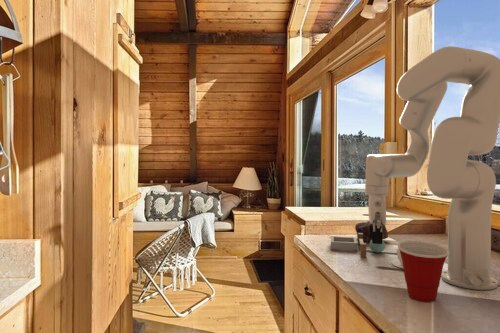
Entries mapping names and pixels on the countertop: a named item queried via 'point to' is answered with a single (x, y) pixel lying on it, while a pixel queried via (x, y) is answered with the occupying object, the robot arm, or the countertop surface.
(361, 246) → the rail
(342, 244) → the dish
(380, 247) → the ball
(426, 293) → the plastic cup
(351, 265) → the countertop surface
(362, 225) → the rock
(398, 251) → the teacup
